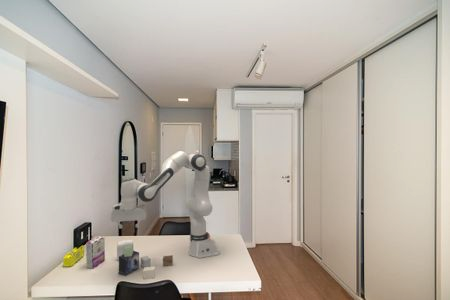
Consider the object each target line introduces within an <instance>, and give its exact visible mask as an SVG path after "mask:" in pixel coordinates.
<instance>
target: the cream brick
mask: <svg viewBox="0 0 450 300" xmlns="http://www.w3.org/2000/svg"><path fill="white" fill-rule="evenodd" d="M142 273H143V275H142V276H143V277H142V279H143V280H150V279H155V277H156V266H150V267H144V268H143V272H142Z"/></svg>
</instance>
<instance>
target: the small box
mask: <svg viewBox="0 0 450 300" xmlns="http://www.w3.org/2000/svg"><path fill="white" fill-rule="evenodd" d="M139 269H140V252H139V251H136V250H133V254H132V256H129V257H124V254H123V255H121V256H119V261H118V275H121V276H122V277H123V276H124V277H127V276H128V275H130V274H132V273H134V272H135V271H137V270H139Z"/></svg>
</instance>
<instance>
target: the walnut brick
mask: <svg viewBox="0 0 450 300" xmlns="http://www.w3.org/2000/svg"><path fill="white" fill-rule="evenodd" d="M173 257H174V255H163V256H162V267H172V266H173V263H174V261H173Z"/></svg>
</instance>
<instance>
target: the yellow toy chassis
mask: <svg viewBox="0 0 450 300" xmlns="http://www.w3.org/2000/svg"><path fill="white" fill-rule="evenodd" d="M83 256H85V245H81V246H80V247H74V248H73V249H71V250H70V251H68V252H67V253H66V254H65V255H64V257H63V258H62V260H63V262H62V263H63V264H62V265H63V267H67V268H69V267H72V266H74V265H75V264H76V263H78V262H79V261H81V259H82V257H83Z"/></svg>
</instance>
